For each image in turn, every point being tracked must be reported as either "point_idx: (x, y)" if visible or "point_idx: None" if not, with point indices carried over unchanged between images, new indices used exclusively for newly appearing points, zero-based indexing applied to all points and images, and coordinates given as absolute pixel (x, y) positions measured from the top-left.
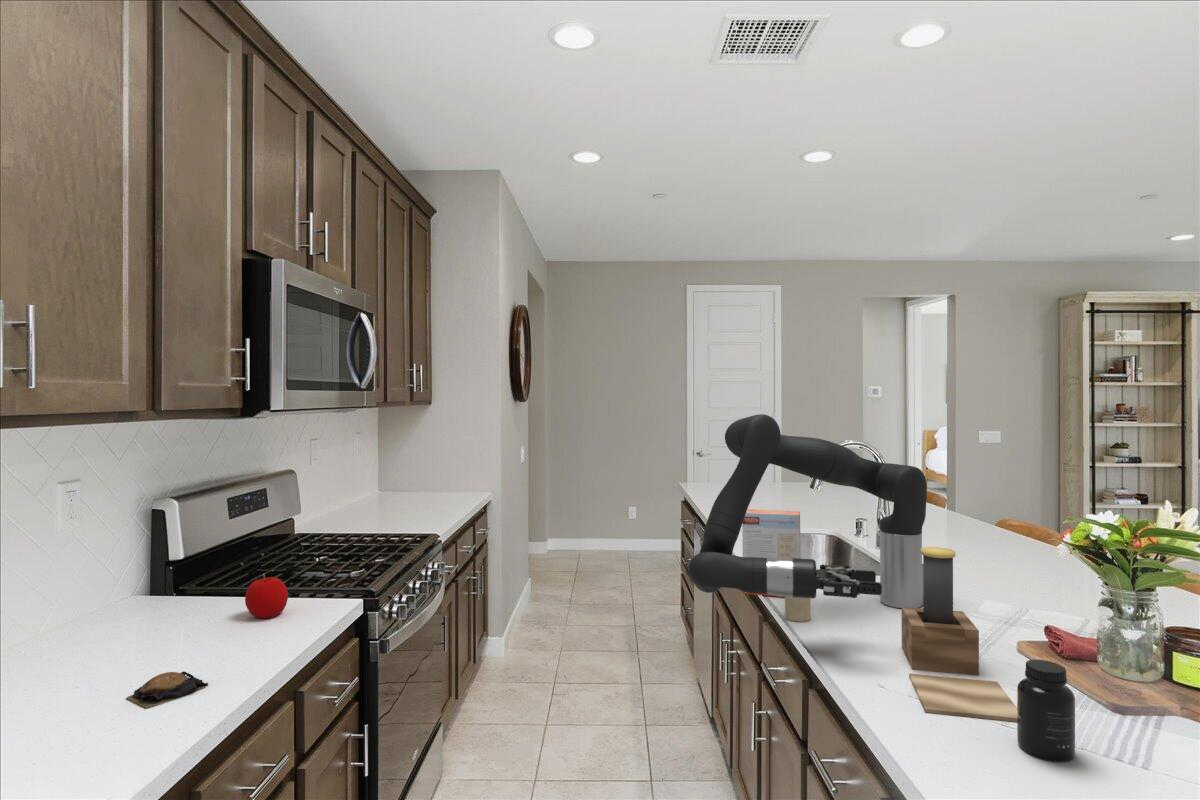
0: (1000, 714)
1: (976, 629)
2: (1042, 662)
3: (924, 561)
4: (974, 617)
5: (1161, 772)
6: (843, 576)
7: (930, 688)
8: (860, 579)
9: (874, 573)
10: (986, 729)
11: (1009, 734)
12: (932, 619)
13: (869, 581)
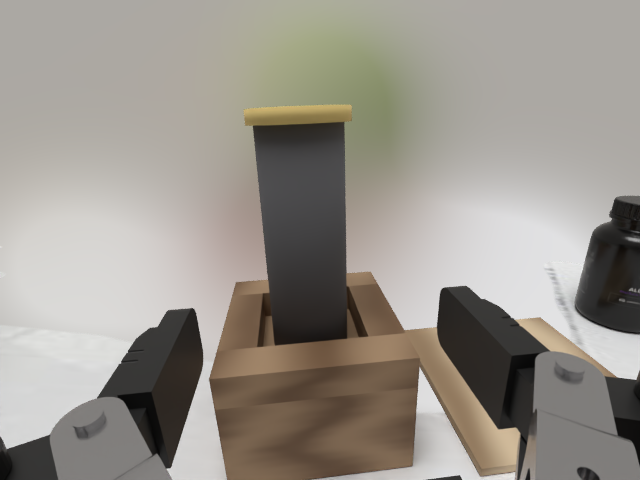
0: (557, 337)
1: (365, 273)
2: (636, 201)
3: (312, 151)
4: (23, 336)
5: (548, 264)
6: (616, 457)
7: None
8: (177, 420)
9: (194, 315)
10: (630, 360)
11: (609, 339)
12: (343, 316)
13: (193, 381)
